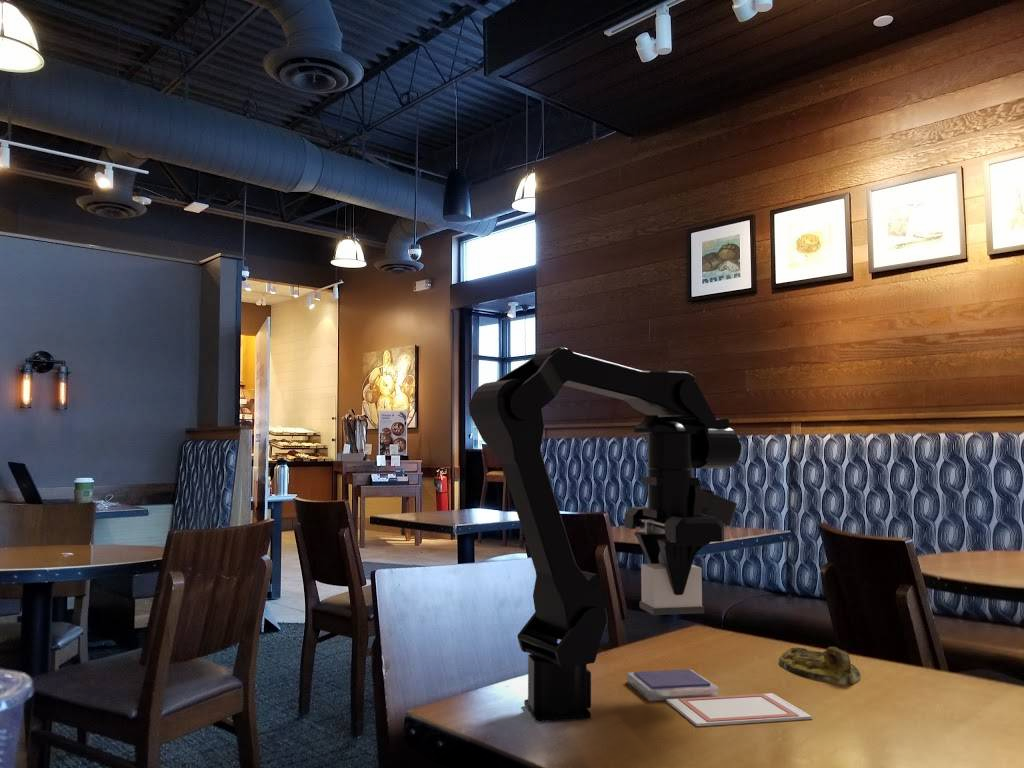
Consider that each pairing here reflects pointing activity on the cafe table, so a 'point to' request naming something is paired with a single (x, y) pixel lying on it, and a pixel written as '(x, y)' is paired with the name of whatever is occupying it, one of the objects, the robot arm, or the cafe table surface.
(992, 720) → the cafe table surface
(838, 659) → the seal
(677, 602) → the stamp
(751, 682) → the cafe table surface
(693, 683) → the ink pad
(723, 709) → the sheet
